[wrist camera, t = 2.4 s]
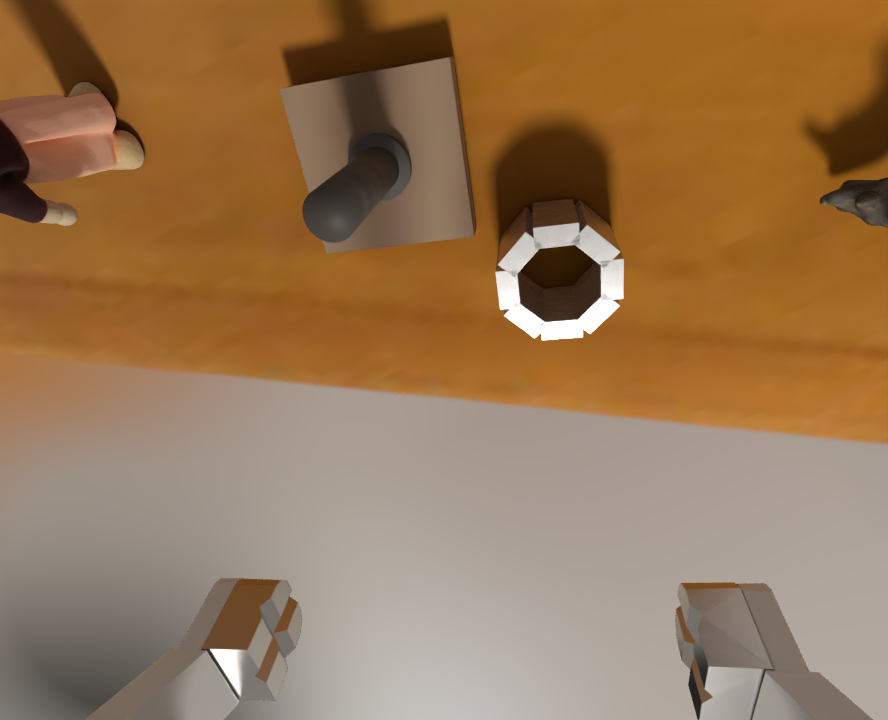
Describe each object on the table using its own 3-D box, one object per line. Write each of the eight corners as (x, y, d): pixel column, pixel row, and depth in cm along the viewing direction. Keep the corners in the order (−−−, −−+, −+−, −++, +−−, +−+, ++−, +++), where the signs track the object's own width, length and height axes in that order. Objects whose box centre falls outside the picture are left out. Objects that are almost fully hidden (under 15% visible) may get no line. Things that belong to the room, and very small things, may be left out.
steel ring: (611, 193, 26) (624, 217, 23) (612, 298, 29) (622, 334, 26) (495, 207, 28) (490, 233, 24) (506, 308, 30) (504, 343, 27)
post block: (453, 55, 24) (417, 70, 16) (476, 227, 28) (456, 306, 20) (291, 85, 26) (185, 112, 18) (335, 244, 30) (264, 323, 22)
